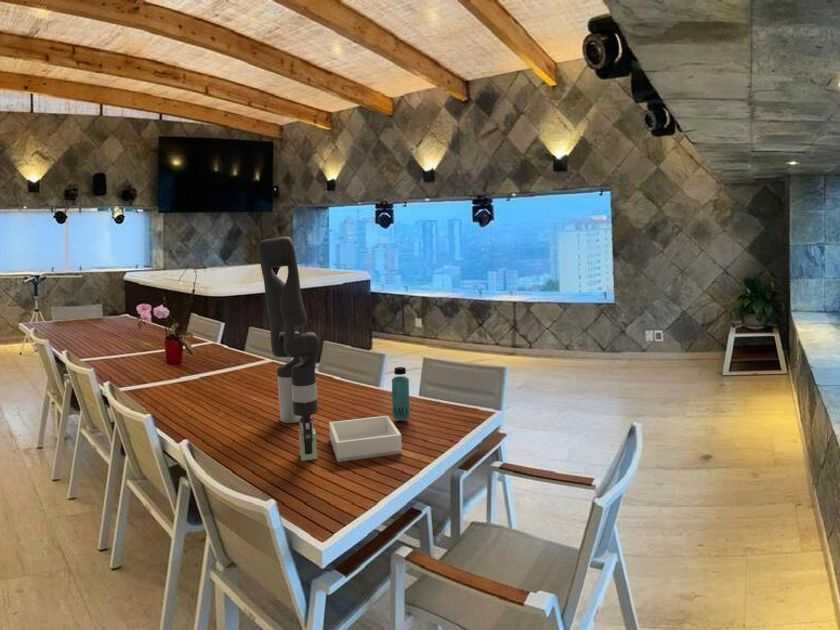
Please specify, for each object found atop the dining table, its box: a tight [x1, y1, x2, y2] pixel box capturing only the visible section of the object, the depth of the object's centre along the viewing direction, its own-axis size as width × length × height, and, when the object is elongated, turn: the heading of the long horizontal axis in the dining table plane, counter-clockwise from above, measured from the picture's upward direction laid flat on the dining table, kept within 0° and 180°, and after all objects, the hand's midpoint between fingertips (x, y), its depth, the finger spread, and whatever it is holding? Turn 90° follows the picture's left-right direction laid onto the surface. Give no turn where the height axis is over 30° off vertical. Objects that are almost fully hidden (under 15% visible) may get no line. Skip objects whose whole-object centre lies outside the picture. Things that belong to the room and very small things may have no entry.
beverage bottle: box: [391, 366, 411, 421], centre depth 204 cm, size 6×7×20 cm
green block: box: [298, 428, 318, 462], centre depth 174 cm, size 5×5×8 cm
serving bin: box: [328, 415, 403, 463], centre depth 181 cm, size 20×20×6 cm
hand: (307, 448), depth 174 cm, fingers open, 8 cm apart
